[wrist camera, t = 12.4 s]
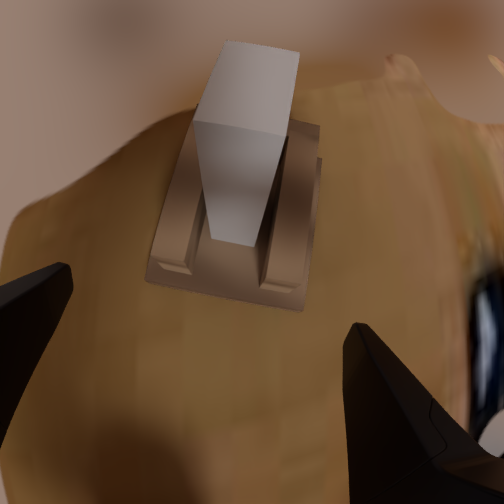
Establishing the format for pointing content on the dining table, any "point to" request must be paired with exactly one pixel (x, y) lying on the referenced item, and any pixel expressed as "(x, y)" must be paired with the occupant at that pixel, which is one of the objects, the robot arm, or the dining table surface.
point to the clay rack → (236, 255)
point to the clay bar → (243, 135)
